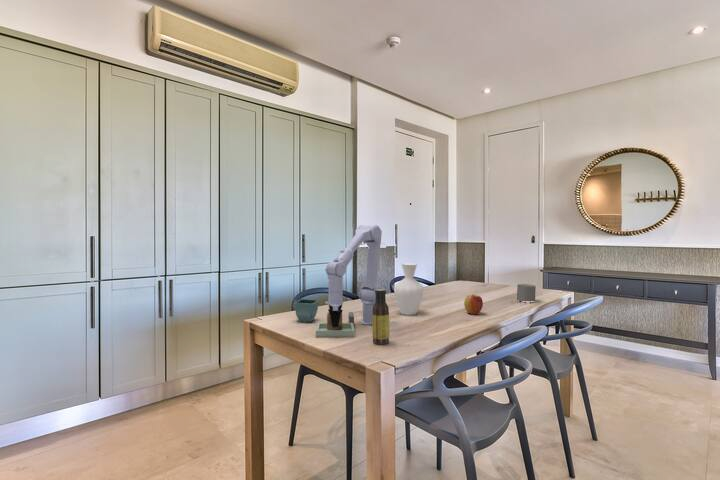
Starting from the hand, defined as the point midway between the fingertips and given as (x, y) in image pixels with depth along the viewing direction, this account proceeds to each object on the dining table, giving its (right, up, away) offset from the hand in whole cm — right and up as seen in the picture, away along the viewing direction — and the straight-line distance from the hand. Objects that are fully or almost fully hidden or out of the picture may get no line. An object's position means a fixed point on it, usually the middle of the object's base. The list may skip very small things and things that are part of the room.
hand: (335, 324), depth 151 cm
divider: (+6, -3, +12) cm, 14 cm away
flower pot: (-14, -3, +19) cm, 24 cm away
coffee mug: (+111, -3, +73) cm, 133 cm away
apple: (+68, -3, +38) cm, 77 cm away
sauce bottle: (+18, -4, -12) cm, 22 cm away
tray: (0, -3, 0) cm, 3 cm away
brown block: (0, -2, 0) cm, 2 cm away
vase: (+35, -3, +37) cm, 50 cm away
